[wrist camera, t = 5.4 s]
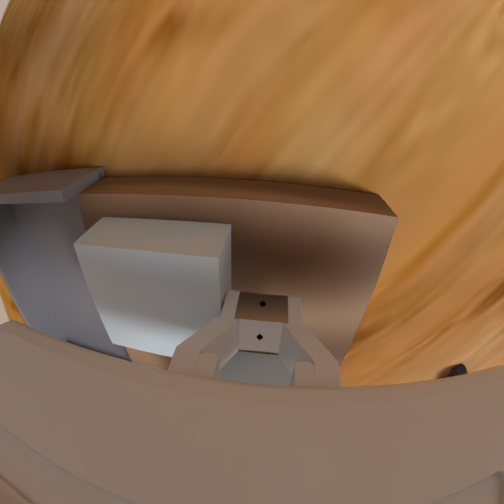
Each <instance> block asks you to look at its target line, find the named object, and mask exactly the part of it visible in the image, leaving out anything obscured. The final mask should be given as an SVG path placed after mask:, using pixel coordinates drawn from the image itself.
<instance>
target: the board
mask: <svg viewBox="0 0 504 504" xmlns="http://www.w3.org/2000/svg"><path fill="white" fill-rule="evenodd" d="M77 196H78V201H79V206H80V211H81V215H82V220H83V224H84V228H85V232H87V231H88V230H89V229H90V228H91V227H92V226H93V225H94V224H96V223H97V222H98V221H99V220H100V219H101V218H103V217H118V218H140V219H159V220H176V221H192V222H207V223H221V224H231V284H232V290H234V291H244V292H253V293H262V294H274V295H287V296H288V295H291V296H300V298H301V316H302V325H306V326H307V327H308V328H309V329H310V330H311V332H312V333H313V334H314V335H315V336H316V337H317V338H318V339H319V341H320V342H321V343H322V344H323V345H324V346H325V347H326V348H327V350H328V351H329V352H330V353H331V354H332V355H333V356H334V357H335V358H336V360H337V361H338V362H339V367H340V365H341V363H342V361H343V359H344V357H345V355H346V353H347V351H348V349H349V347H350V345H351V342H352V340H353V338H354V336H355V334H356V331H357V329H358V327H359V325H360V322H361V320H362V318H363V315H364V313H365V311H366V308H367V306H368V303H369V301H370V298H371V296H372V293H373V291H374V288H375V285H376V283H377V280H378V277H379V275H380V272H381V269H382V266H383V263H384V260H385V257H386V254H387V251H388V248H389V245H390V242H391V239H392V236H393V232H394V229H395V226H396V222H397V219H398V217H397V216H396V214H395V213H394V212H393V211H392V210H391V208H390V207H389V206H388V205H387V204H386V202H385V201H384V200H383V199H382V198H381V197H380V195H375V194H369V193H362V192H356V191H349V190H342V189H335V188H327V187H319V186H310V185H301V184H292V183H282V182H271V181H258V180H245V179H229V178H209V177H176V176H126V177H104V178H102V179H101V180H99V181H97V182H96V183H94V184H93V185H91V186H89V187H88V188H86V189H85V190H83V191H82V192H80V193H78V194H77ZM126 350H127V352H128V354H129V356H130V358H131V360H132V362H134V363H138V364H142V365H146V366H150V367H154V368H159V369H164V370H168V367H169V365H170V362H171V359H172V357H169V356H164V355H159V354H154V353H150V352H145V351H141V350H137V349H133V348H129V347H126ZM238 351H241V352H250V353H260V354H271V355H279V353H272V352H263V351H251V350H239V349H238Z"/></svg>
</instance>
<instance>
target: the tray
mask: <svg viewBox="0 0 504 504" xmlns="http://www.w3.org/2000/svg"><path fill="white" fill-rule="evenodd" d="M104 177H105V176H104V168H103V167H89V168H77V169H66V170H57V171H48V172H40V173H33V174H26V175H19V176H13V177H7V178H5V179H3V180H2V181H0V274H1V276H2V279H3V281H4V283H5V285H6V287H7V289H8V291H9V293H10V295H11V297H12V299H13V301H14V303H15V305H16V307H17V308H18V310H19V312H20V314H21V316H22V317H23V319H24V321H25V322H26V324H27V326H28V327H31V328H33V329H35V330H38V331H40V332H42V333H45V334H47V335H50V336H52V337H55V338H58V339H60V340H63V341H66V342H68V343H71V344H74V345H77V346H80V347H83V348H86V349H89V350H92V351H95V352H98V353H102V354H105V355H108V356H112V357H115V358H119V359H122V360H126V361H130V362H132V360H131V358H130V356H129V354H128V352H127V350H126V347H125V346H121V345H117V344H113V343H112V341H111V339H110V337H109V335H108V333H107V331H106V329H105V327H104V324H103V322H102V320H101V318H100V315H99V313H98V311H97V308H96V306H95V304H94V301H93V299H92V296H91V294H90V291H89V288H88V286H87V283H86V280H85V278H84V275H83V272H82V269H81V266H80V263H79V260H78V257H77V254H76V251H75V248H74V243H75V242H76V241H77V240H78V239H79V238H80V237H81V236H82V235H83V234H84V233H85V228H84V224H83V220H82V215H81V211H80V206H79V201H78V196H77V194H78V193H80V192H82V191H83V190H85V189H86V188H88V187H89V186H91V185H93V184H94V183H96V182H97V181H99V180H101V179H102V178H104Z"/></svg>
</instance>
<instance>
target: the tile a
mask: <svg viewBox="0 0 504 504" xmlns="http://www.w3.org/2000/svg"><path fill="white" fill-rule="evenodd" d="M74 248H75V251H76V254H77V257H78V260H79V263H80V266H81V269H82V272H83V275H84V278H85V280H86V283H87V286H88V288H89V291H90V294H91V296H92V299H93V301H94V304H95V306H96V308H97V311H98V313H99V315H100V318H101V320H102V322H103V324H104V327H105V329H106V331H107V333H108V335H109V337H110V339H111V341H112V343H113V344H117V345H121V346H125V347H129V348H133V349H137V350H141V351H145V352H150V353H154V354H159V355H164V356H169V357H173V354H174V351H175V349H176V346H178V345H179V344H180V343H182V342H183V341H185V340H186V339H187V338H189V337H190V336H191V335H193V334H194V333H195V332H197V331H198V330H200V329H201V328H202V327H204V326H205V325H206V324H208V323H209V322H210V321H212V320H213V319H214V318H216V317H220V316H221V312H222V308H223V305H224V301H225V297H226V293H227V291H228V290H232V284H231V224H221V223H207V222H192V221H176V220H159V219H140V218H118V217H103V218H101V219H100V220H99V221H98V222H97V223H96V224H94V225H93V226H92V227H91V228H90V229H89V230H88V231H87V232H85V233H84V234H83V235H82V236H81V237H80V238H79V239H78V240H77V241H76V242H75V243H74Z"/></svg>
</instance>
